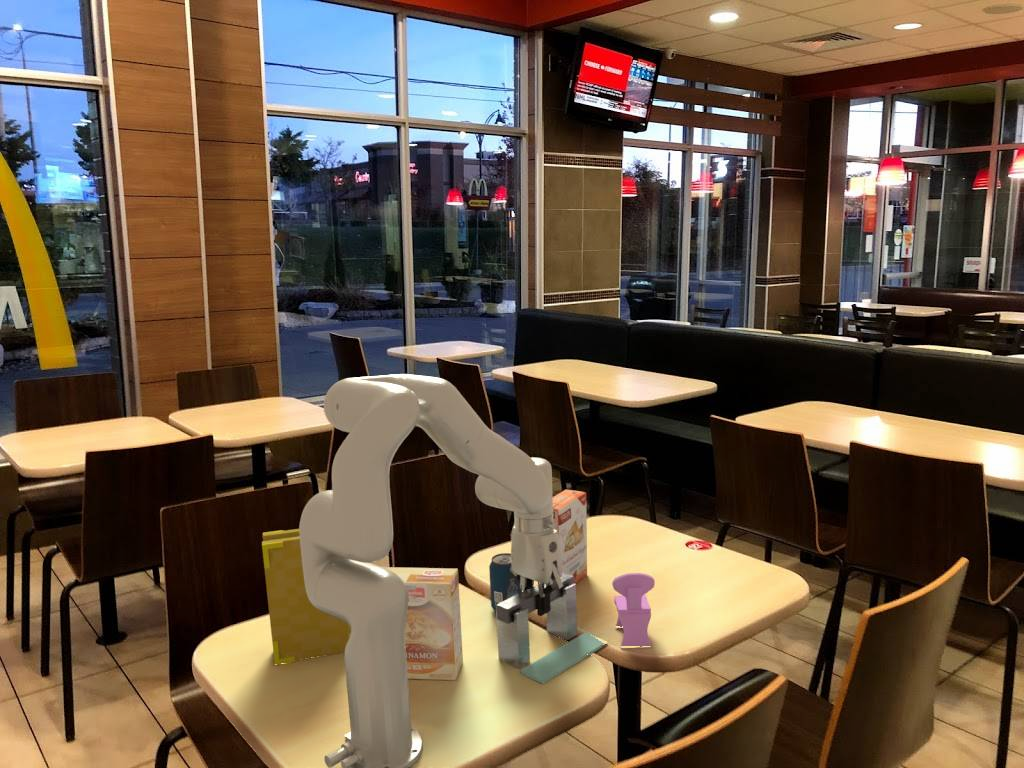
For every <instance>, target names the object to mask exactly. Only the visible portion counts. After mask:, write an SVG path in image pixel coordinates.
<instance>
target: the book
mask: <svg viewBox="0 0 1024 768" xmlns="http://www.w3.org/2000/svg"><path fill="white" fill-rule="evenodd" d="M261 547H262V548H261V549H262V558H263V565H264V566H263V569H264V576H265V586H266V587H265V588H266V595H267V604H268V613H269V614H268V615H269V623H270V631H271V633H270V634H271V642H272V643H271V644H272V652H273V662H274V664H273V665H275V664H281V663H288V664H291V663H290V662H293V663H295V662H296V661H295V660H298V661H301V660H300V659H304V660H306V659H305V658H310V659H312V658H311V657H315V658H318V657H317V656H321V657H325V656H324V655H327V656H331V655H330V654H333V655H337V654H342V653H343V654H344V652H345V647H346V644H347V642H348V640H349V638H350V635H351V627H350V625H349V624H348V623H346V622H343V621H341V620H340V619H338V618H335V617H333V616H331V615H328V614H326V613H324V612H322V611H320V610H318V609H317V608H315V607H314V606H313V605H312V603H311V602H310V600H309V598H308V596H307V592H306V588H305V582H304V573H303V565H302V556H301V546H300V535H299V528H295V529H288V530H283V529H282V530H281V529H280V530H274V531H267V532H262V541H261Z"/></svg>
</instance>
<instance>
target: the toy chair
mask: <svg viewBox="0 0 1024 768" xmlns="http://www.w3.org/2000/svg"><path fill="white" fill-rule="evenodd" d="M655 583H656V582H655V578H654V577H653V576H651V575H649V574H646V573H643V572H632V573H631V572H629V573H625V574H624V573H623V574H620V575H618V576H617V577H614V579H613V580H612V583H611V585H612V588H613V590H614V591H615V592H616V593H618V595H614V596H613V597H614V600H613V601H614V604H615V606H616V610H617V615H618V617H617V620H616V624H615V626H620V627H622V626H623V629H622V630H623V638H622V641H621V643H620V646H640V647H642V646H652V647H653V645H652V643H651V640H650V638H649V633H648V628H649V624H650V620H651V617H652V612H651V611H652V609H651V608H652V607H651V605H650V604H649V601H648V598H647V595H646V594H647V593H648V592H650V591H652V590H653V589H654V588H655Z"/></svg>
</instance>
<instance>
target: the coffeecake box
mask: <svg viewBox="0 0 1024 768" xmlns="http://www.w3.org/2000/svg"><path fill="white" fill-rule="evenodd" d="M382 567H383V568H386V569H388V570H390V571H392V572H394V573H395V574H397V575H398V576H399V577H400V578H401V579H402V580H403V582H404V583H405V585H406V587H407V590H408V597H409V598H408V609H407V616H406V625H405V647H406V661H407V674H408V680H413V679H414V680H437V681H438V680H439V681H456V680H457V678H458V675H459V672H460V670H461V668H462V664H463V662H464V658H463V657H464V654H463V639H462V637H463V635H462V620H461V619H462V618H461V603H460V585H459V584H460V583H459V569H458V568H443V567H441V568H440V567H438V568H437V567H436V568H435V567H431V568H430V567H395V566H391V567H390V566H382Z"/></svg>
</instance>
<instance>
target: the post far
mask: <svg viewBox="0 0 1024 768" xmlns="http://www.w3.org/2000/svg"><path fill="white" fill-rule="evenodd" d="M550 606H551V610H550V612H548V613H546V614H545V615H546V631H547V632H548V633H550V634H553V635H555V636H557V637H559V638H562V639H564V640H565V641H569V640H570V639H571V640H572V638H575V637H577V635H578V619H577V617H578V616H577V612H578V611H577V583H576V584H574V583H572V584H570V585H568V586H566V587H564V588H563V596H562V597H560V598H558V599H556V600H554V601H552V602H550Z"/></svg>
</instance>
